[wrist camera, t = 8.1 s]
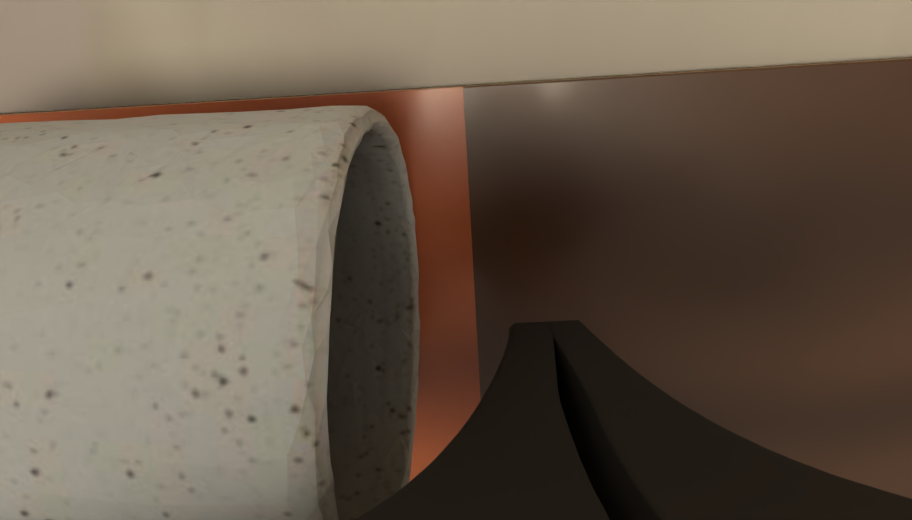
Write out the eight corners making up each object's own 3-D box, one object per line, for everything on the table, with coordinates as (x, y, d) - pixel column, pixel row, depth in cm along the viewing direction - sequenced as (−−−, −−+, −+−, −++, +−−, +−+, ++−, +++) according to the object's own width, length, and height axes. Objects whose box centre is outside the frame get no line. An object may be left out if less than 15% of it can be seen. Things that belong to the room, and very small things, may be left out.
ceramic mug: (6, 97, 13) (-596, 228, 5) (405, 74, 12) (312, 185, 5) (141, 493, 17) (-99, 857, 10) (441, 485, 16) (417, 858, 9)
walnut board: (941, 592, 18) (949, 601, 17) (101, 612, 19) (95, 622, 19) (1123, 43, 12) (1138, 44, 12) (-95, 119, 13) (-107, 122, 13)
